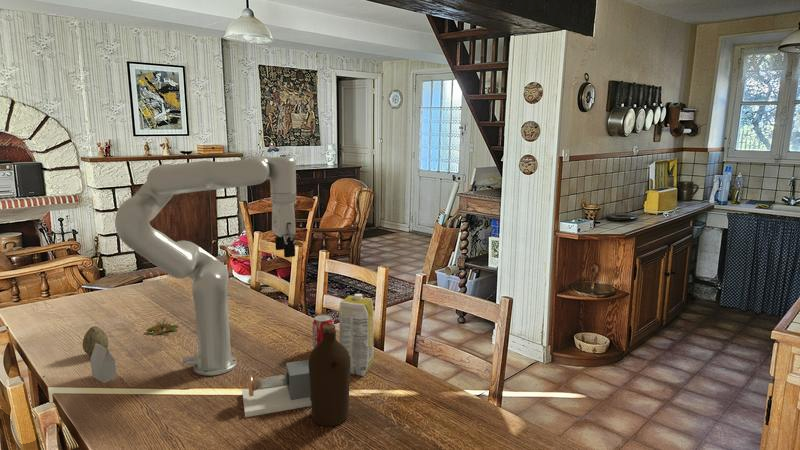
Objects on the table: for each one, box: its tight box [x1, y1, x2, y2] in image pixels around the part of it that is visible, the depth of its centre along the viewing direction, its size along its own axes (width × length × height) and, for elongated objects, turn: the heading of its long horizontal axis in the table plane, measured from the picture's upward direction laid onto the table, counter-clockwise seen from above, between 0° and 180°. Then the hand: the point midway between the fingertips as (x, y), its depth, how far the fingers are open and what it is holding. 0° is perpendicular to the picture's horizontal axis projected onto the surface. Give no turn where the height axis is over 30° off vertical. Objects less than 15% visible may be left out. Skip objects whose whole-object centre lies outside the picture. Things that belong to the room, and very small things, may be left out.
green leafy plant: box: [144, 317, 179, 337], centre depth 188 cm, size 12×12×5 cm
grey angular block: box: [89, 343, 118, 384], centre depth 153 cm, size 4×7×10 cm, turn 55°
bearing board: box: [242, 359, 312, 418], centre depth 143 cm, size 27×12×9 cm, turn 110°
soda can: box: [312, 313, 335, 350], centre depth 171 cm, size 7×7×12 cm
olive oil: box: [308, 324, 351, 427], centre depth 132 cm, size 11×11×25 cm
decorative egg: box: [82, 326, 109, 357], centre depth 167 cm, size 7×7×10 cm
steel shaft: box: [247, 374, 289, 397], centre depth 141 cm, size 14×6×6 cm, turn 110°
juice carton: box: [338, 293, 374, 377], centre depth 158 cm, size 9×8×24 cm
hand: (285, 253), depth 160 cm, fingers open, 9 cm apart
